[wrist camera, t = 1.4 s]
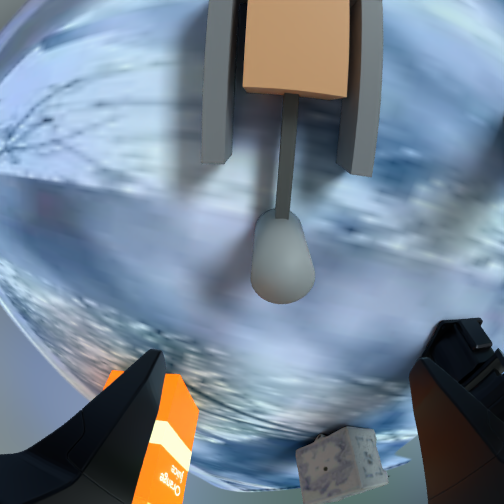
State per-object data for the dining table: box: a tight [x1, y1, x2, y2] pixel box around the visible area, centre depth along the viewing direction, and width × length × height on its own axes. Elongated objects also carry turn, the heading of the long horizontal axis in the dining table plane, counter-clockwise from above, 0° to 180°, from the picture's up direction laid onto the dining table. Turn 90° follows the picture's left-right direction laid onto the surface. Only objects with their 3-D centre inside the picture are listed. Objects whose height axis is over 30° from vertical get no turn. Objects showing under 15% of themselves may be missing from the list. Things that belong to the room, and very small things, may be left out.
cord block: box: [243, 0, 350, 304], centre depth 14 cm, size 17×5×6 cm, turn 177°
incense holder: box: [295, 426, 389, 504], centre depth 29 cm, size 10×8×10 cm
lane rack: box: [201, 0, 383, 177], centre depth 13 cm, size 11×9×4 cm
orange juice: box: [103, 370, 199, 504], centre depth 21 cm, size 8×9×20 cm
